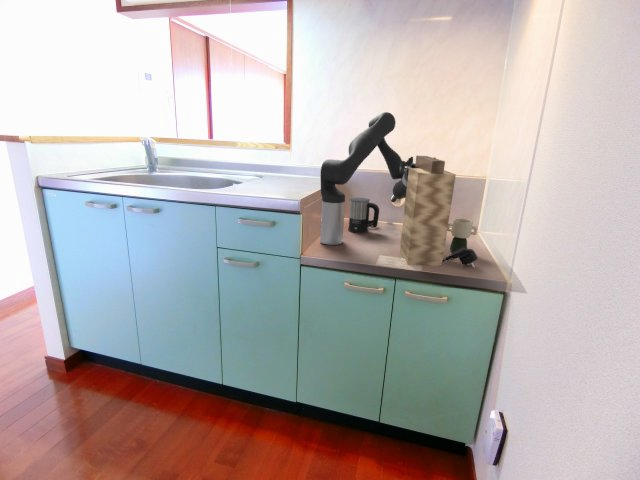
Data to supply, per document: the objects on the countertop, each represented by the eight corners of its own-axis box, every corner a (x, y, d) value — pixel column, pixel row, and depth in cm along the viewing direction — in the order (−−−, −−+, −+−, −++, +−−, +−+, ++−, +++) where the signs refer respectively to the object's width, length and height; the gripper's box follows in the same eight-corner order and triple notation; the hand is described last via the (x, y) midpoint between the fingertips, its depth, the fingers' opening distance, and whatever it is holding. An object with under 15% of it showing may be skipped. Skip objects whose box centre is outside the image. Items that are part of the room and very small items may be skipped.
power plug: (437, 258, 127) (469, 242, 123) (447, 274, 128) (479, 260, 124) (439, 263, 122) (472, 247, 118) (449, 281, 123) (482, 266, 119)
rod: (430, 173, 112) (432, 160, 111) (415, 166, 134) (416, 155, 133) (443, 174, 112) (445, 161, 111) (425, 166, 134) (426, 155, 132)
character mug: (473, 251, 137) (478, 220, 133) (472, 257, 131) (478, 224, 127) (444, 247, 142) (449, 216, 138) (442, 252, 136) (447, 220, 132)
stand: (407, 264, 122) (418, 173, 112) (399, 250, 136) (408, 168, 126) (441, 266, 122) (455, 174, 112) (430, 251, 136) (442, 169, 126)
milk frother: (347, 232, 157) (349, 200, 152) (346, 223, 172) (348, 194, 167) (379, 234, 157) (382, 202, 152) (375, 225, 172) (378, 195, 167)
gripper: (395, 167, 146) (404, 149, 130) (429, 168, 146) (442, 150, 130) (395, 183, 145) (404, 167, 129) (430, 185, 144) (443, 169, 128)
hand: (423, 159), depth 129 cm, fingers open, 8 cm apart
